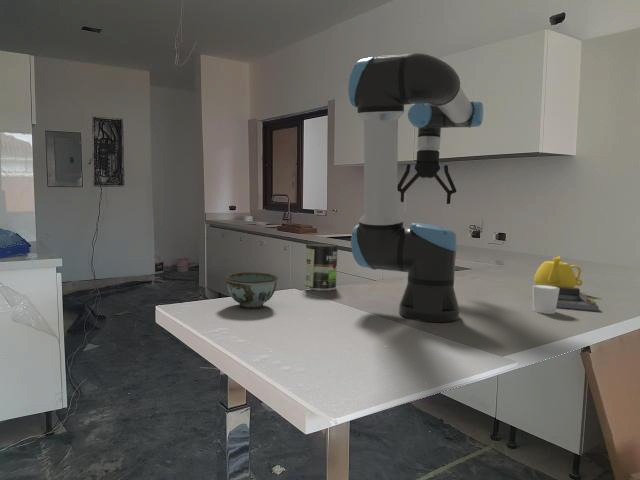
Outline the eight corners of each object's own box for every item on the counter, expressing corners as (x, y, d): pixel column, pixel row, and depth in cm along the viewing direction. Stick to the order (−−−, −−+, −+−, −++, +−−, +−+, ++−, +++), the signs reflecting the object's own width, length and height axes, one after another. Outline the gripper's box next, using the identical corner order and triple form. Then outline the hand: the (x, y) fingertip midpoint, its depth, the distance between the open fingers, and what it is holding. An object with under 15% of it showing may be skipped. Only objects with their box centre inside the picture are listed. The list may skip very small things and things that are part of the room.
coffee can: (342, 287, 158) (343, 244, 157) (325, 292, 149) (327, 247, 148) (315, 283, 163) (317, 242, 162) (298, 288, 155) (299, 244, 153)
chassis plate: (598, 311, 137) (599, 299, 136) (544, 306, 141) (545, 294, 140) (583, 299, 154) (584, 288, 153) (535, 294, 158) (536, 284, 158)
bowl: (256, 298, 137) (257, 270, 136) (287, 307, 127) (288, 277, 127) (214, 304, 127) (215, 274, 127) (245, 315, 118) (245, 282, 117)
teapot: (581, 299, 154) (584, 263, 153) (531, 293, 161) (533, 259, 160) (581, 289, 171) (584, 257, 170) (535, 284, 178) (538, 253, 177)
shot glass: (561, 311, 134) (563, 287, 134) (552, 315, 129) (555, 290, 129) (535, 307, 139) (537, 283, 138) (526, 310, 134) (528, 286, 133)
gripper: (466, 152, 165) (462, 214, 166) (392, 151, 171) (389, 211, 173) (466, 149, 158) (462, 214, 159) (390, 148, 164) (386, 211, 166)
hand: (424, 212), depth 166 cm, fingers open, 13 cm apart
